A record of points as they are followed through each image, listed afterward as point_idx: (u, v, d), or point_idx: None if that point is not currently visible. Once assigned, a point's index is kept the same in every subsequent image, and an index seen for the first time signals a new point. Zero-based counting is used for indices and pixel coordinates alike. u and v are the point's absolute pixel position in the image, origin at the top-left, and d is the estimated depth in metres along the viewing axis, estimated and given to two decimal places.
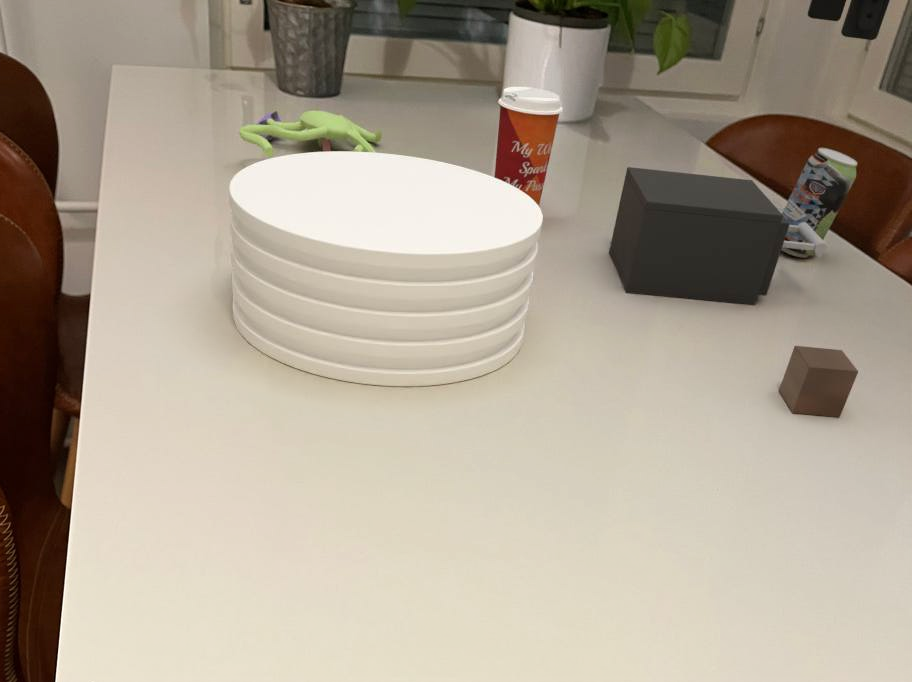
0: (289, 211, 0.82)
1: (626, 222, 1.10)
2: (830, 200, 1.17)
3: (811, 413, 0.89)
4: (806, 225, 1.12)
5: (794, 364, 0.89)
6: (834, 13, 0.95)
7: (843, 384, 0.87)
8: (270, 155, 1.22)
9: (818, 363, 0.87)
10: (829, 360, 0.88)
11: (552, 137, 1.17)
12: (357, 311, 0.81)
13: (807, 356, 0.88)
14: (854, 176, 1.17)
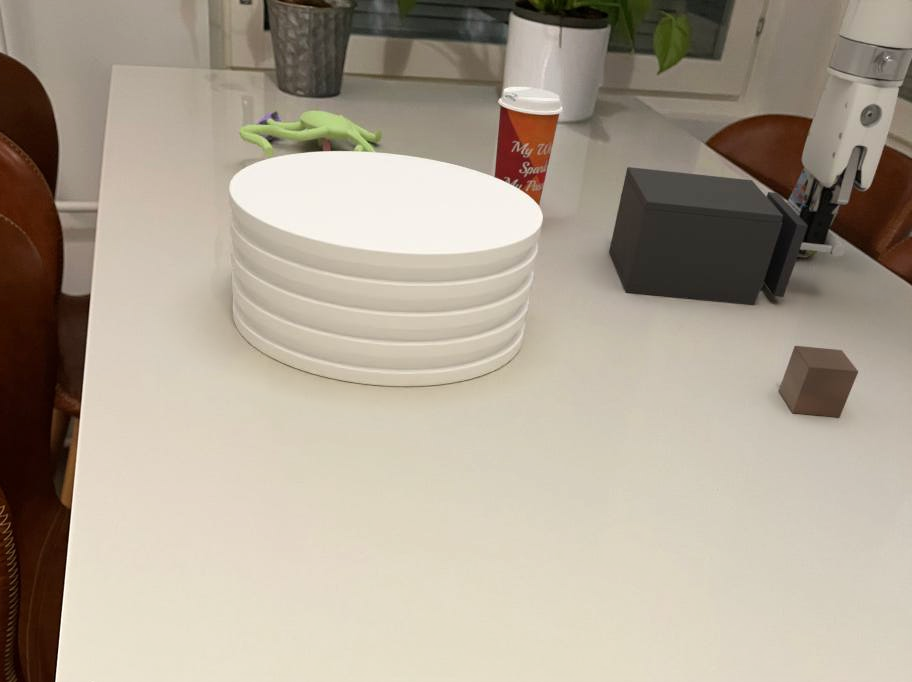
0: (289, 211, 0.82)
1: (626, 222, 1.10)
2: None
3: (811, 413, 0.89)
4: None
5: (794, 364, 0.89)
6: None
7: (843, 384, 0.87)
8: (270, 155, 1.22)
9: (818, 363, 0.87)
10: (829, 360, 0.88)
11: (552, 137, 1.17)
12: (357, 311, 0.81)
13: (807, 356, 0.88)
14: None
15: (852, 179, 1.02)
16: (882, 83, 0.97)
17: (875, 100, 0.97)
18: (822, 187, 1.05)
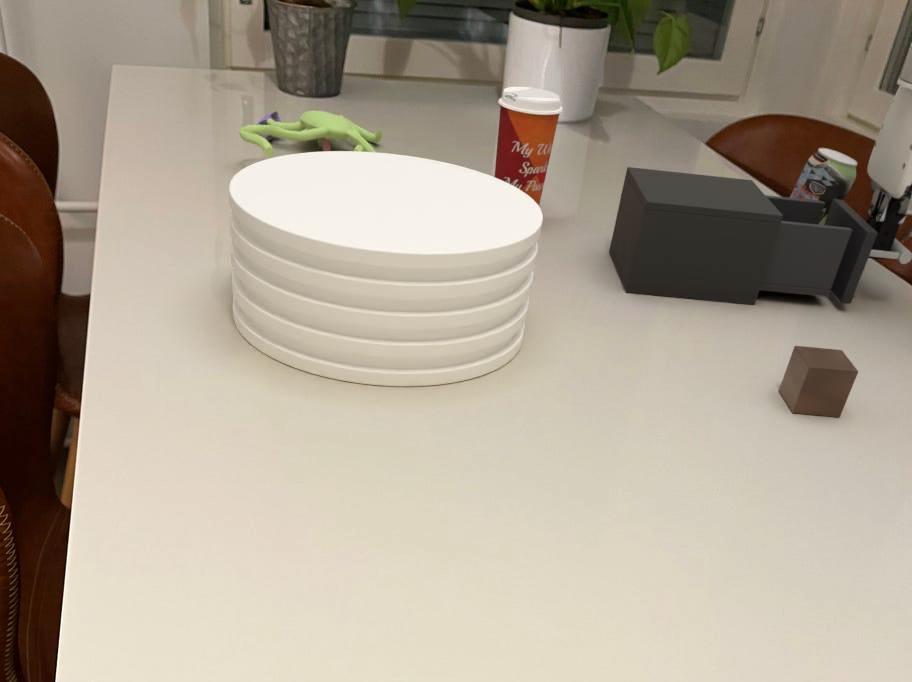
0: (289, 211, 0.82)
1: (626, 222, 1.10)
2: (830, 200, 1.17)
3: (811, 413, 0.89)
4: None
5: (794, 364, 0.89)
6: None
7: (843, 384, 0.87)
8: (270, 155, 1.22)
9: (818, 363, 0.87)
10: (829, 360, 0.88)
11: (552, 137, 1.17)
12: (357, 311, 0.81)
13: (807, 356, 0.88)
14: (854, 176, 1.17)
15: None
16: None
17: None
18: (890, 198, 1.06)
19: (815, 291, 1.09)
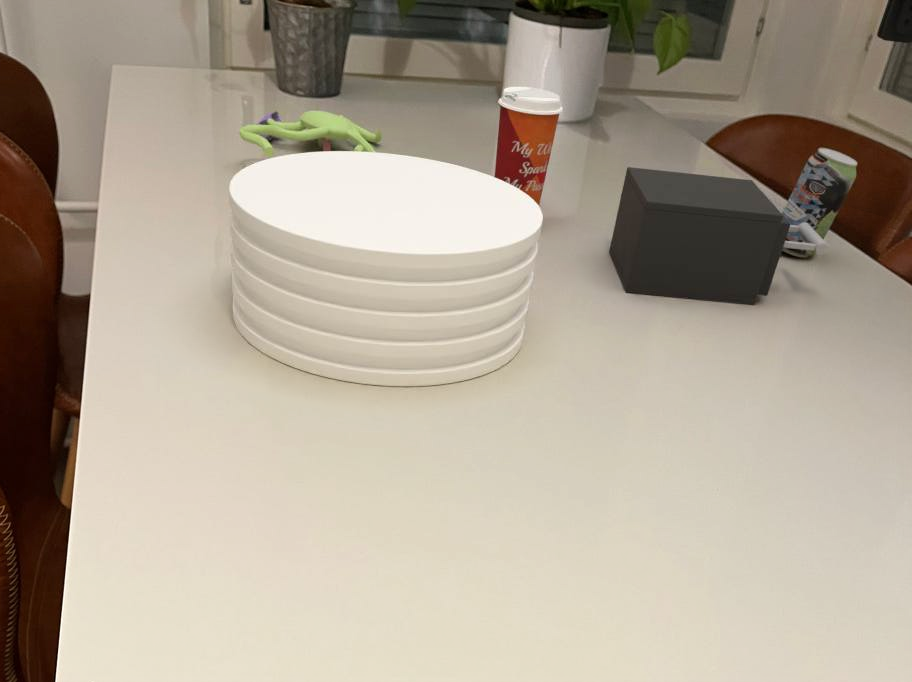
0: (289, 211, 0.82)
1: (626, 222, 1.10)
2: (830, 200, 1.17)
3: None
4: (807, 225, 1.12)
5: None
6: None
7: None
8: (270, 155, 1.22)
9: None
10: None
11: (552, 137, 1.17)
12: (357, 311, 0.81)
13: None
14: (854, 176, 1.17)
15: None
16: None
17: None
18: None
19: None
